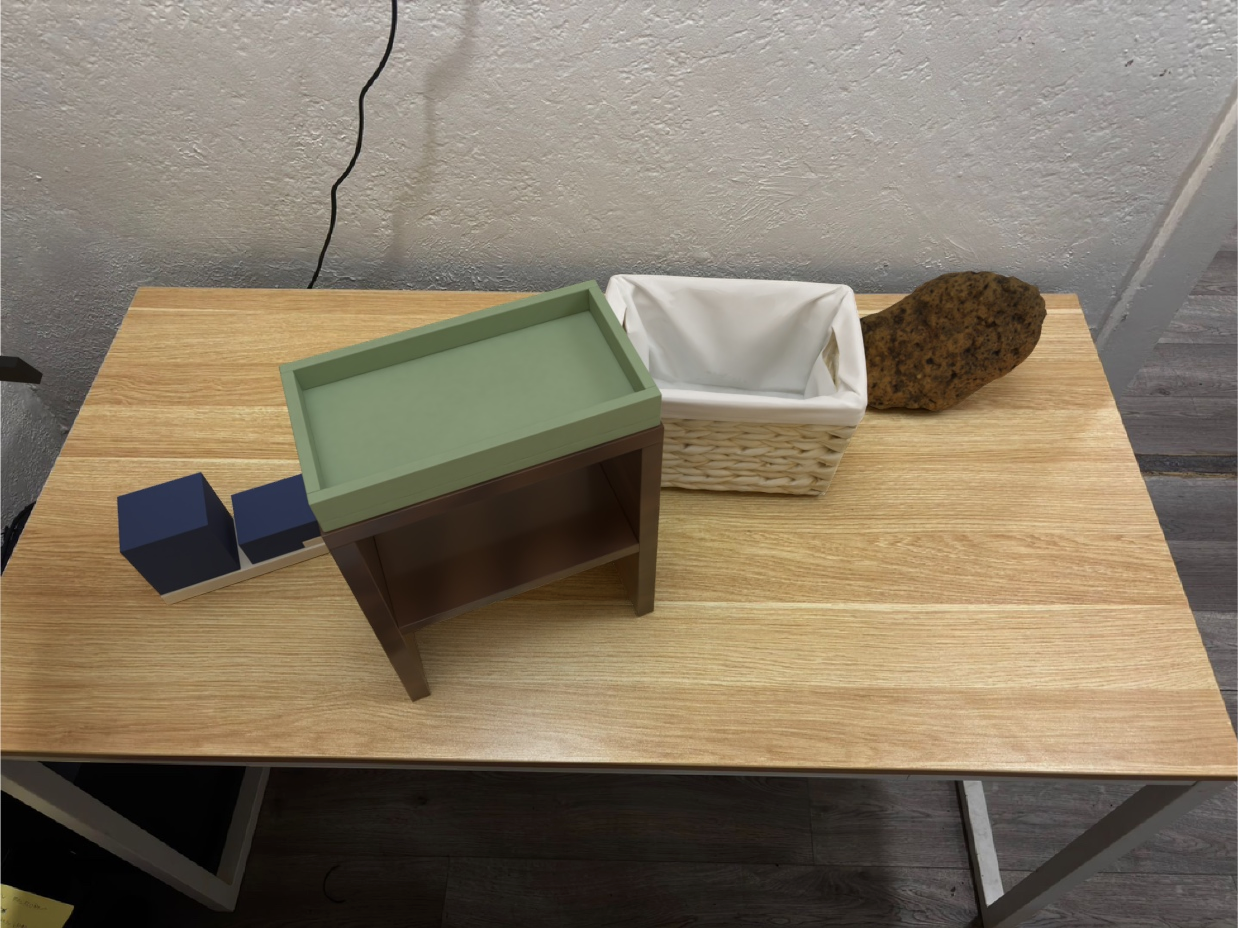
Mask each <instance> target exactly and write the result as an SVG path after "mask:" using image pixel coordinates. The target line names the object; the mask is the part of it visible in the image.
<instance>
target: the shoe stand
mask: <svg viewBox="0 0 1238 928" xmlns="http://www.w3.org/2000/svg"><path fill="white" fill-rule="evenodd" d="M663 441H664V425H663V423H662V421H661V420H660V425H658V426H655V427H652V428H649V429H646V430H643V431H639V432H636V433H633V434H630V435H627V436H624V437H621V438H618V439H615V440H611V441H608V442H605V443H602V444H599V445H596V446H593V447H590V448H587V449H583V450H580V451H577V452H574V453H571V454H568V455H565V456H562V457H559V458H555V459H552V460H549V461H546V462H543V463H540V464H537V465H534V466H531V467H527V468H524V469H521V470H518V471H515V472H512V473H509V474H506V475H503V476H499V477H496V478H493V479H490V480H487V481H484V482H481V483H478V484H475V485H471V486H468V487H465V488H462V489H459V490H456V491H453V492H450V493H446V494H443V495H440V496H437V497H434V498H431V499H428V500H425V501H422V502H418V503H415V504H412V505H409V506H406V507H403V508H400V509H397V510H394V511H390V512H387V513H384V514H381V515H378V516H375V517H372V518H369V519H366V520H362V521H359V522H356V523H353V524H350V525H347V526H344V527H341V528H338V529H334V530H331V531H328V532H323V530H322V528H321V526H320V524H319V523H318V524H319V528H320V533H321V537H322V539H323V541H324V543H325V544H326V546H327V548H328V550H329V551H330V552H329V554H330V555H331V557H332V559H333V560H334V562H335V565H336V566H337V568H338V570H339V572H340V573H341V575H342V577H343V578H344V581H345V582H346V584H347V586H348V588H349V590H350V591H351V593H352V595H353V597H354V599H355V601H356V602H357V604H358V606H359V608H360V610H361V611H362V614H363V615H364V617H365V619H366V621H367V622H368V624H369V626H370V628H371V629H372V631H373V633H374V635H375V637H376V639H377V640H378V642H379V644H380V646H381V648H382V650H383V651H384V652H385V655H386V656H387V658H388V660H389V662H390V664H391V665H392V667H393V669H394V672H395V673H396V675H397V676H398V678H399V680H400V682H401V684H402V686H403V687H404V689H405V692H406V693H407V695H408V697H409V698H410V700H411V702H413V703H414V702H417V701H419V700H422V699H425V698H427V697H430V696H431V695H432V694H431V690H430V686H429V683H428V680H427V675H426V671H425V669H424V665H423V660H422V658H421V655H420V650H419V647H418V643H417V639H416V636H415V632H416V631H420V630H422V629H425V628H428V627H431V626H434V625H436V624H439V623H441V622H444V621H448V620H450V619H453V618H456V617H459V616H461V615H464V614H465V615H466V614H468V613H470V612H473V611H475V610H479V609H482V608H484V607H487V606H490V605H492V604H496V603H498V602H501V601H504V600H507V599H509V598H512V597H515V596H518V595H521V594H524V593H526V592H529V591H532V590H536V589H538V588H541V587H543V586H546V585H549V584H551V583H555V582H557V581H560V580H563V579H567V578H568V577H571V576H574V575H578V574H580V573H583V572H585V571H588V570H591V569H594V568H597V567H599V566H602V565H605V564H608V563H612V565H613V567H614V569H615V572H616V573H617V576H618V578H619V580H620V582H621V584H622V587H623V589H624V591H625V593H626V596H627V598H628V600H629V602H630V604H631V606H632V609H633V610H634V612H635V615H636V617H637V618H640V617H642V616H645V615H648V614H650V613H654V611H655V598H656V597H655V595H656V594H655V593H656V578H657V577H656V576H657V561H658V546H659V545H658V543H659V525H660V507H661V489H662V487H661V475H662V457H663Z"/></svg>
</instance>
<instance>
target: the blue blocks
mask: <svg viewBox="0 0 1238 928" xmlns="http://www.w3.org/2000/svg"><path fill="white" fill-rule="evenodd" d="M230 499H231V505H232V513H233V516H232V514H231V513H230V511H229V510H228V509H227V507H226V506H225V504H224V503H223V501H222V500H221V498H220V497H219V496H218V494H217V493H216V491H215V490H214V488H213V487H212V485H211V484H210V482H209V481H208V479H207V478H206V476H205V475H204V474H203V472H202V471H200V472H199V471H198V472H196V473H193V474H189V475H186V476H182V477H178V478H176V479H173V480H169V481H165V482H162V483H159V484H154V485H151V486H148V487H144V488H142V489H138V490H135V491H132V492H128V493H125V494H121V495H118V496H117V497H116V504H117V505H116V507H117V508H116V509H117V526H118V545H119V553H120V554H121V555H122V556H123V557H124V558H125V560H126V561H127V562H128V563H129V565H131V566H132V567H133V568H134V569H135V570H136V571H137V572H138V573H139V574H140V575H141V577H143V579H144V580H145V581H146V582H147V583H148V584H149V585H150V586H151V587H152V588H153V589H154V590H155V591H156V592H157V594H158V595H160V599H162V600H163V602H165V604H166V605H167V606H171V605H173V604H176V603H179V602H182V601H186V600H188V599H191V598H195V597H199V596H201V595H204V594H207V593H210V592H212V591H216V590H219V589H222V588H225V587H228V586H231V585H234V584H237V583H241V582H243V581H246V580H250V579H252V578H256V577H259V576H262V575H265V574H268V573H271V572H274V571H277V570H280V569H283V568H286V567H289V566H293V565H295V564H298V563H302V562H305V561H308V560H311V559H313V558H314V559H315V558H317V557H320V556H323V555H326V554H330V551H329V550H328V548H327V546H326V544H325V543H324V541H323V539H322V537H321V533H320V528H319V524H318V521H317V519H316V517H315V515H314V513H313V511H312V510H311V508H310V506H309V503H308V499H307V494H306V490H305V485H304V481H303V476H302V473H299V474H296V475H295V474H294V475H292V476H288V477H286V478H282V479H279V480H276V481H273V482H268V483H266V484H262V485H259V486H255V487H252V488H249V489H246V490H242V491H240V492H236V493H233V494H231V495H230Z"/></svg>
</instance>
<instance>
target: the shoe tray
mask: <svg viewBox="0 0 1238 928" xmlns="http://www.w3.org/2000/svg"><path fill="white" fill-rule="evenodd" d="M278 371H279V375H280V380H281V385H282V389H283V394H284V398H285V402H286V408H287V412H288V417H289V421H290V425H291V430H292V435H293V441H294V444H295V448H296V453H297V457H298V462H299V466H300V472H301V474H302V476H303V481H304V485H305V490H306V494H307V499H308V503H309V506H310V508H311V510H312V511H313V513H314V515H315V517H316V519H317V521H318V523H319V524H320V526H321V528H322V530H323V532H328V531H331V530H334V529H338V528H341V527H344V526H347V525H350V524H353V523H356V522H359V521H362V520H366V519H369V518H372V517H375V516H378V515H381V514H384V513H387V512H390V511H394V510H397V509H400V508H403V507H406V506H409V505H412V504H415V503H418V502H422V501H425V500H428V499H431V498H434V497H437V496H440V495H443V494H446V493H450V492H453V491H456V490H459V489H462V488H465V487H468V486H471V485H475V484H478V483H481V482H484V481H487V480H490V479H493V478H496V477H499V476H503V475H506V474H509V473H512V472H515V471H518V470H521V469H524V468H527V467H531V466H534V465H537V464H540V463H543V462H546V461H549V460H552V459H555V458H559V457H562V456H565V455H568V454H571V453H574V452H577V451H580V450H583V449H587V448H590V447H593V446H596V445H599V444H602V443H605V442H608V441H611V440H615V439H618V438H621V437H624V436H627V435H630V434H633V433H636V432H639V431H643V430H646V429H649V428H652V427H655V426H658V425H660V419H661V401H662V394H661V392H660V390H659V389H658V387H657V385H656V384H655V382H654V380H653V378H652V377H651V375H650V373H649V372H648V370H647V368H646V366H645V365H644V363H643V361H642V360H641V358H640V356H639V354H638V353H637V351H636V349H635V348H634V346H633V344H632V342H631V341H630V339H629V337H628V336H627V334H626V332H625V330H624V329H623V327H622V325H621V324H620V322H619V320H618V318H617V317H616V315H615V313H614V312H613V310H612V308H611V306H610V305H609V303H608V301H607V300H606V298H605V294H604V293H603V291H602V290H601V287H600V286H599V284H598V283H597V281H596V279H594V278H593V279H590V280H586V281H582V282H578V283H575V284H571V285H568V286H564V287H561V288H556V289H553V290H549V291H545V292H542V293H538V294H534V295H531V296H527V297H524V298H520V299H516V300H513V301H509V302H506V303H505V302H504V303H501V304H497V305H495V306H491V307H490V306H489V307H486V308H484V309H480V310H476V311H473V312H472V311H471V312H469V313H465V314H461V315H457V316H454V317H451V318H447V319H444V320H440V321H436V322H433V323H429V324H425V325H421V326H418V327H414V328H411V329H407V330H404V331H403V330H402V331H399V332H395V333H392V334H388V335H385V336H382V337H381V336H380V337H378V338H374V339H371V340H370V339H369V340H368V341H367V340H366V341H364V342H359V343H355V344H352V345H349V346H345V347H341V348H337V349H334V350H330V351H326V352H322V353H320V354H319V353H318V354H316V355H312V356H307V357H304V358H302V359H301V358H300V359H297V360H293V361H290V362H286V363H283V364H279V365H278Z"/></svg>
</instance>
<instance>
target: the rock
mask: <svg viewBox="0 0 1238 928" xmlns="http://www.w3.org/2000/svg"><path fill="white" fill-rule="evenodd" d="M1046 304H1047V303H1046V299H1044V297H1043V296H1042V295H1041V293H1040V289H1039V287H1038V286H1035V285H1032V284H1030V283H1028V282H1026V281H1023V280H1022V279H1020V278H1018V277H1016V276H1014V275H1011V276H1005V275H1004V274H998V273H995V272H993V271H988V270H982V271H978V272H976V271H973V270H966V271H955V272H947V273H942V274H940V275H938V276H937V277H935V278H932V279H930V280H928V281H925V282H923V284H921V285H920V286H917V287H916V288H915V289H914V290H913V292H912V293H909V294H908V295H905V296H904V297H903V298H901V300H898V301H896V302H895V303H894V304H892V305H890V306H888V307H887V308H885V309H882V310H880V311H877V312H875V313H870V314H868V315H867V314H866V315H865V316H862V317H859V319H860V325H861V331H862V337H863V344H864V353H865V361H866V373H867V406H870V407H872V408H875V409H878V410H885V409H890V408H895V407H896V408H907V409H919V408H923V409H927V410H929V411H931V412H932V411H934V412H935V411H943V410H947V409H951V408H953V407H956V406H958V405H959V404H960V403H962V402H963V401H964V400H965V399H967V398H969V396H971V395H973V394H974V393H976V392H977V391H979V390H980V389H982V388H983V387H985V386H987V385H988V384H989V383H991V382H993V381H995V380H997V379H1001V378H1003V377H1005V376H1007V375H1009V374H1010V373H1011V372H1013V370H1014V369H1015V368H1016V367H1018V366H1019V365H1021V364H1022V363H1024V362H1025V361H1026V360H1027V359H1028V357H1030V355H1031V354H1032V353H1033V352H1034V350H1035V348H1036V347H1037V345H1038V343H1039V341H1040V339H1041V336H1042V329H1043V324H1044V321H1045V319H1046V317H1047V316H1048V312H1047V311H1048V310H1047V309H1046Z"/></svg>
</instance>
